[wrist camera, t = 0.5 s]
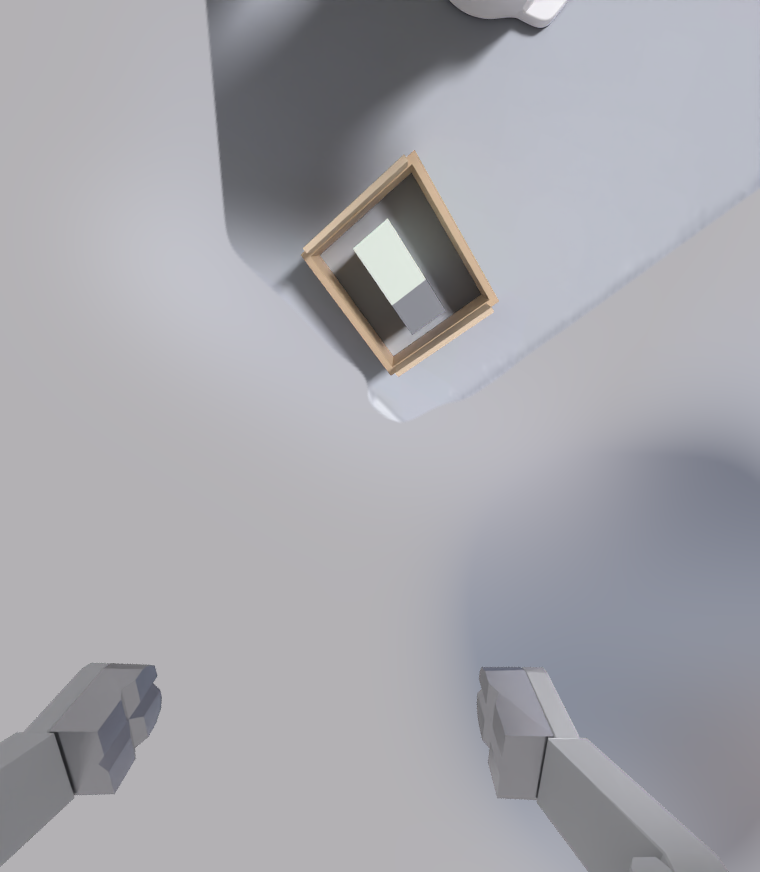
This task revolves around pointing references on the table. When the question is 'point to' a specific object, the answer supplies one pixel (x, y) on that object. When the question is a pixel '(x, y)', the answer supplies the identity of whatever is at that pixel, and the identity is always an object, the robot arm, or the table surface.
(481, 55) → the table surface
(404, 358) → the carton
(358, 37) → the table surface
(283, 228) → the table surface
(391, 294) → the box
